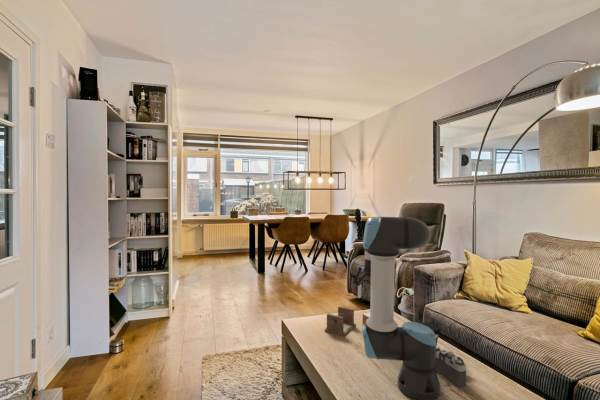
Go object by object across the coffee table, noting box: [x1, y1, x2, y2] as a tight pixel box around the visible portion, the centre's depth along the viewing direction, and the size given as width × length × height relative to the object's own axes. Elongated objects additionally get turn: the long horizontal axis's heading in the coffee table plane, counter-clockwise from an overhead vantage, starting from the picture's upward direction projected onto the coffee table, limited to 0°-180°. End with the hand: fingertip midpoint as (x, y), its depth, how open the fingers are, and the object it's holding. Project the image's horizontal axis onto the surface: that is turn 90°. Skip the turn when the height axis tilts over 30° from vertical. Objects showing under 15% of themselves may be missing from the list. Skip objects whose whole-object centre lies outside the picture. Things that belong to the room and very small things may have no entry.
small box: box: [361, 312, 370, 334], centre depth 165 cm, size 8×6×10 cm
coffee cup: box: [419, 322, 441, 347], centre depth 147 cm, size 11×11×12 cm
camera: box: [435, 346, 467, 388], centre depth 129 cm, size 16×10×10 cm, turn 20°
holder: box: [324, 305, 357, 337], centre depth 173 cm, size 18×11×9 cm, turn 147°
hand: (371, 299), depth 165 cm, fingers open, 13 cm apart
